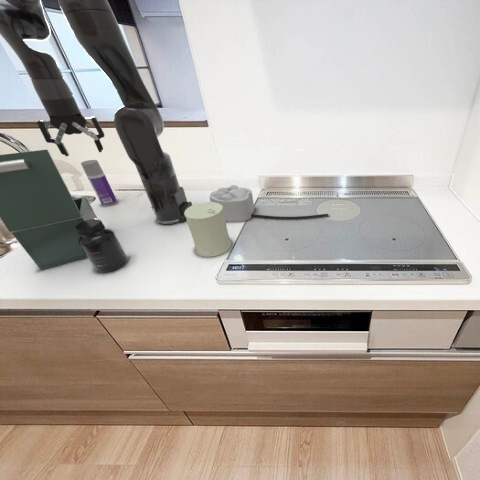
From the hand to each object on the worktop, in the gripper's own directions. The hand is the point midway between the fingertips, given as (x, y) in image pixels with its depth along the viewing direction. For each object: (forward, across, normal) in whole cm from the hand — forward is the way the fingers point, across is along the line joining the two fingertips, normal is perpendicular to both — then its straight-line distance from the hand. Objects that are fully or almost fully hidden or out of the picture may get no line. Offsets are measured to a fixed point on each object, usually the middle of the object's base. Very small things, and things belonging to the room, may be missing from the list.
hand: (84, 153), depth 84 cm
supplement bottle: (+18, 0, -42) cm, 45 cm away
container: (+18, 0, 0) cm, 18 cm away
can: (+18, +24, -48) cm, 57 cm away
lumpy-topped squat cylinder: (+18, +35, -33) cm, 51 cm away
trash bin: (+18, -8, -27) cm, 33 cm away
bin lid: (-1, -8, -33) cm, 34 cm away
